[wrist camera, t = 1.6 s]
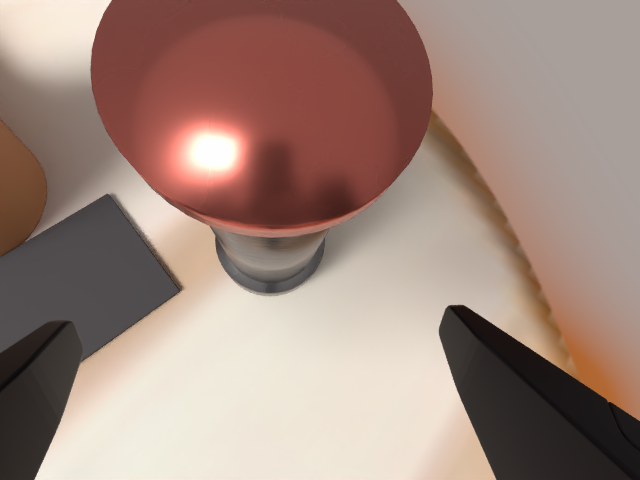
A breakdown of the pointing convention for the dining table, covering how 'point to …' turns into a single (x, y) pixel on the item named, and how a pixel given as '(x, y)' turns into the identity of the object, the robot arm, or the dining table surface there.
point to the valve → (264, 117)
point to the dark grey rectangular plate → (81, 278)
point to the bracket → (18, 191)
